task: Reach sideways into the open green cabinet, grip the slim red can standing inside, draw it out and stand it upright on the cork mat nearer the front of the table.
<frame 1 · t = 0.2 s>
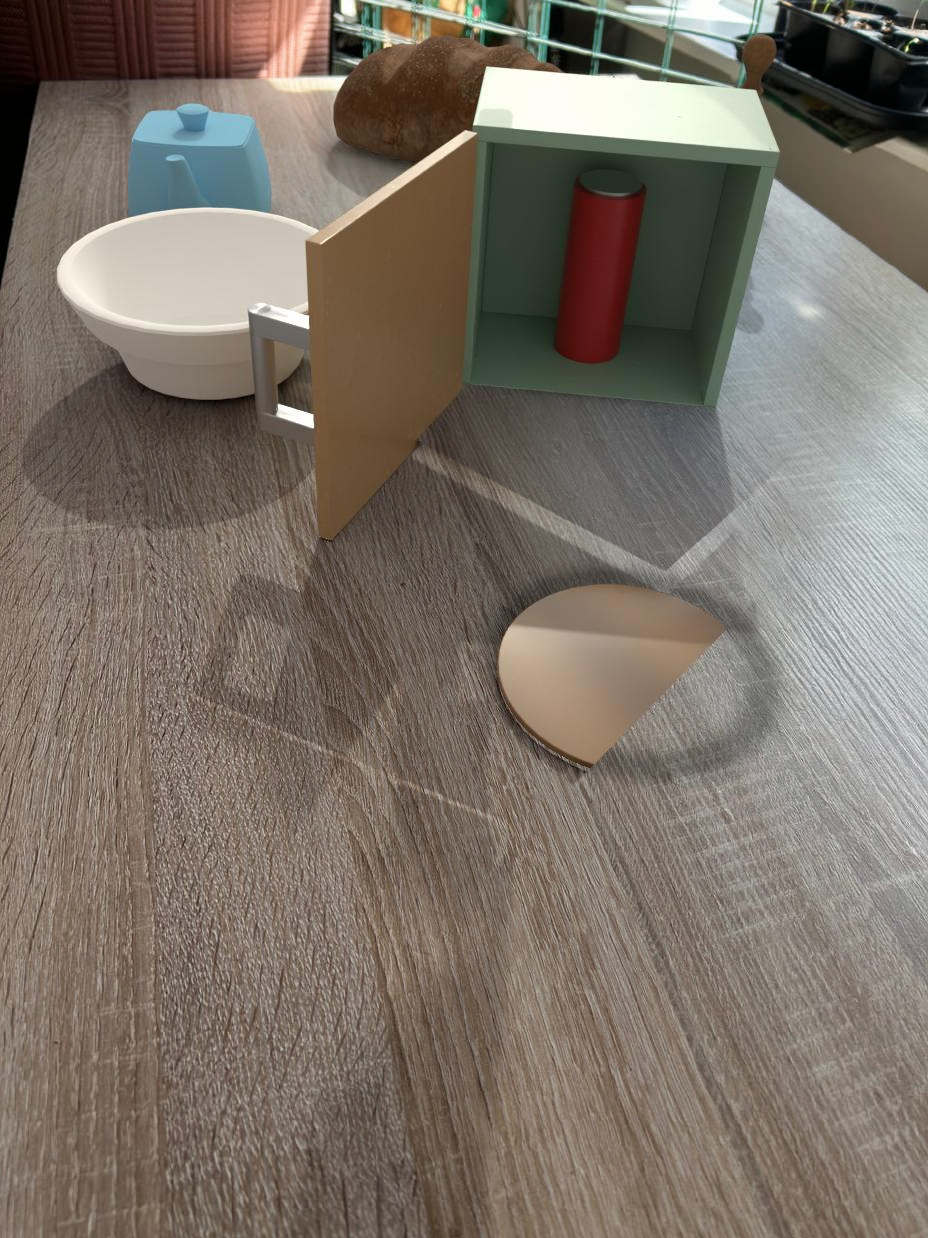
ice cream cone: (589, 239, 106), on the table
wooden cabinet door: (362, 324, 69), point 10 cm above the table, hinge at 110.0°
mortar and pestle: (719, 230, 110), on the table
can: (586, 347, 87), point 1 cm above the table, touching green cabinet
teapot: (204, 242, 100), on the table
bread: (462, 150, 122), on the table, touching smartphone
green cabinet: (584, 363, 87), on the table
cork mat: (626, 679, 61), on the table
bowl: (216, 364, 84), on the table
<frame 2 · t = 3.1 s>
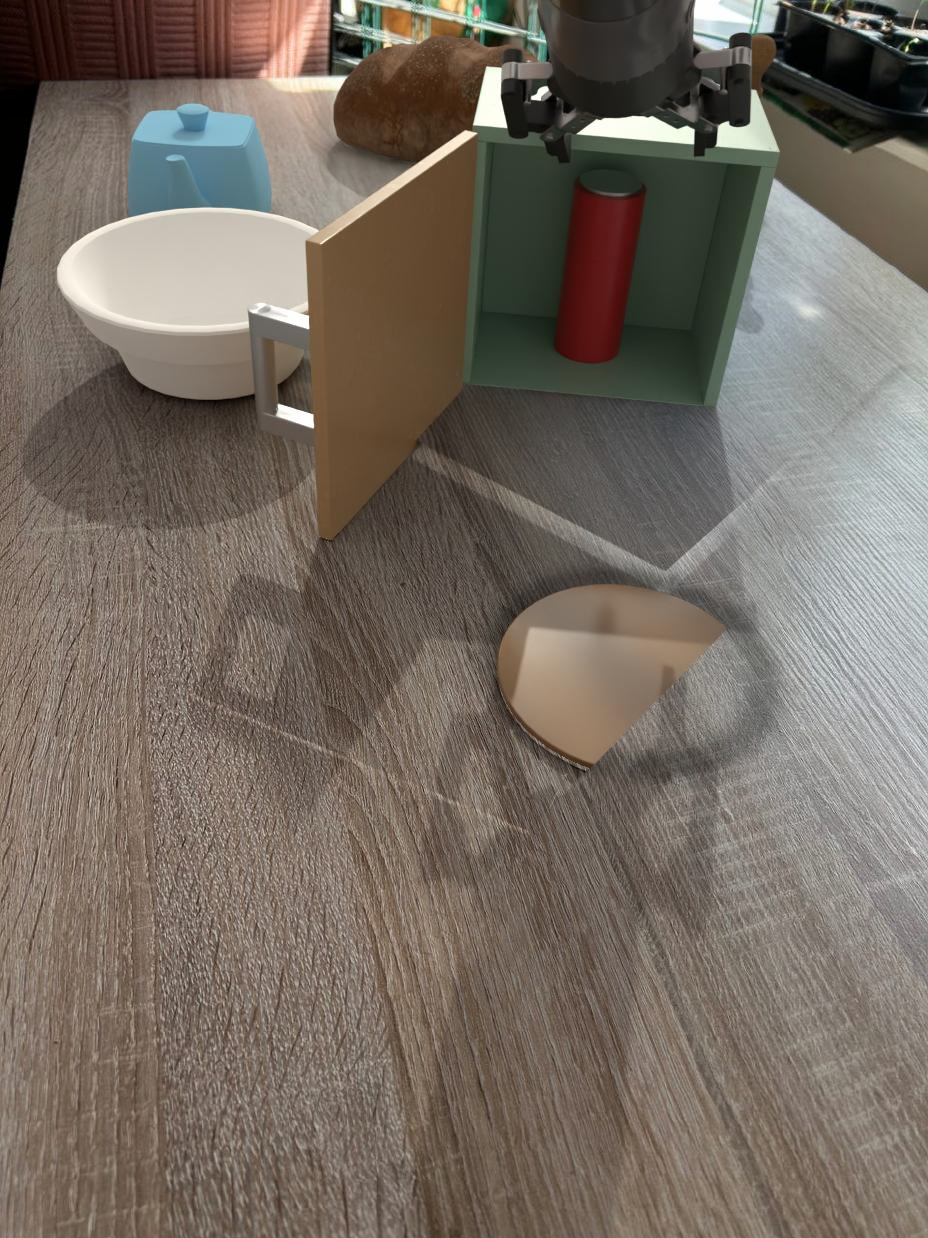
hand: (631, 145, 68), 20 cm above the table, tool tilted 50°, fingers open, 8 cm apart
nothing on the table moved.
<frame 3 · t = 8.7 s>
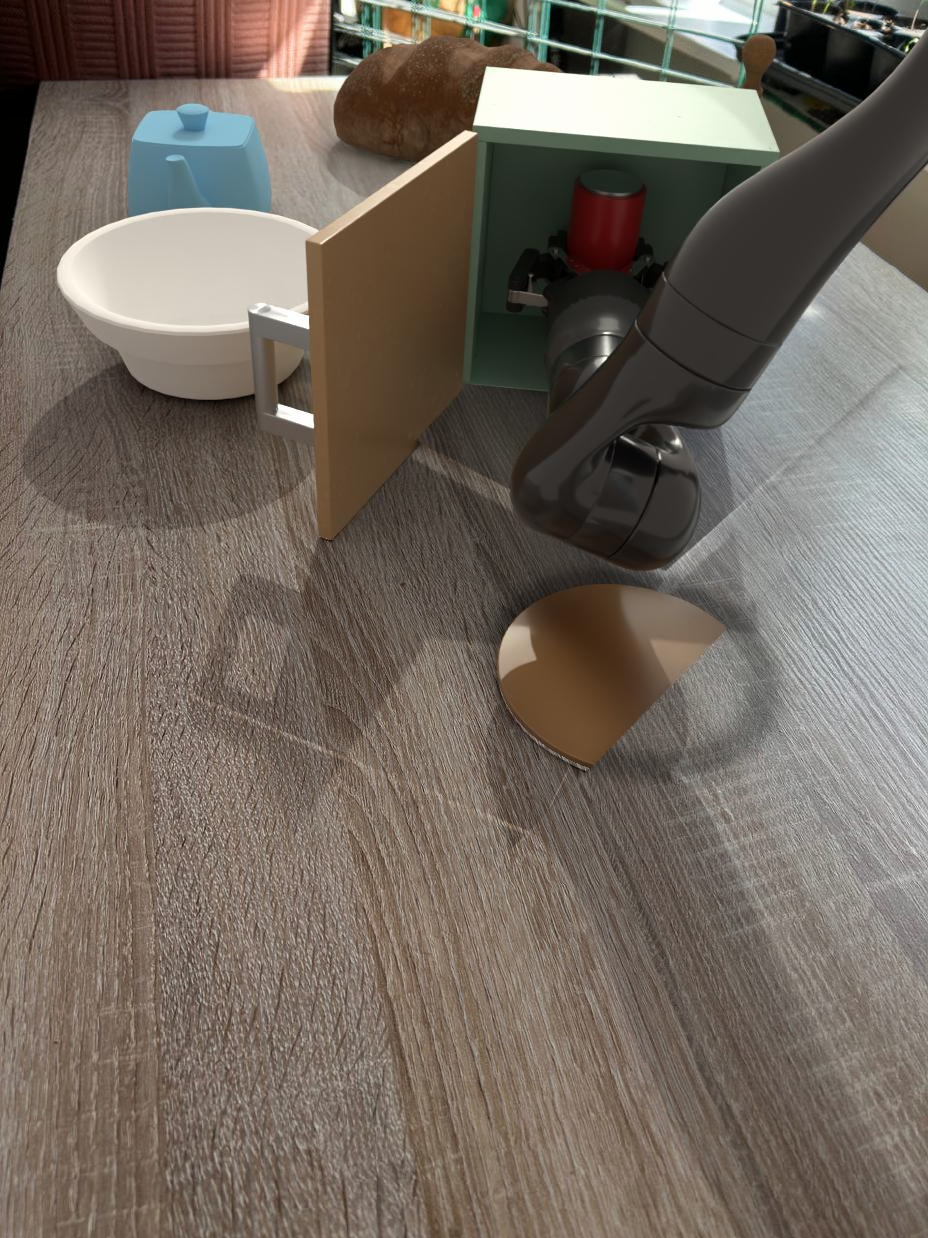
hand: (598, 245, 84), 9 cm above the table, tool horizontal, fingers closed on can, 5 cm apart
can: (586, 346, 87), point 1 cm above the table, touching green cabinet, gripper
everything else where it was.
when the fingers open (8 cm above the table, at t = 20.8 s): can stays where it is, resting on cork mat.
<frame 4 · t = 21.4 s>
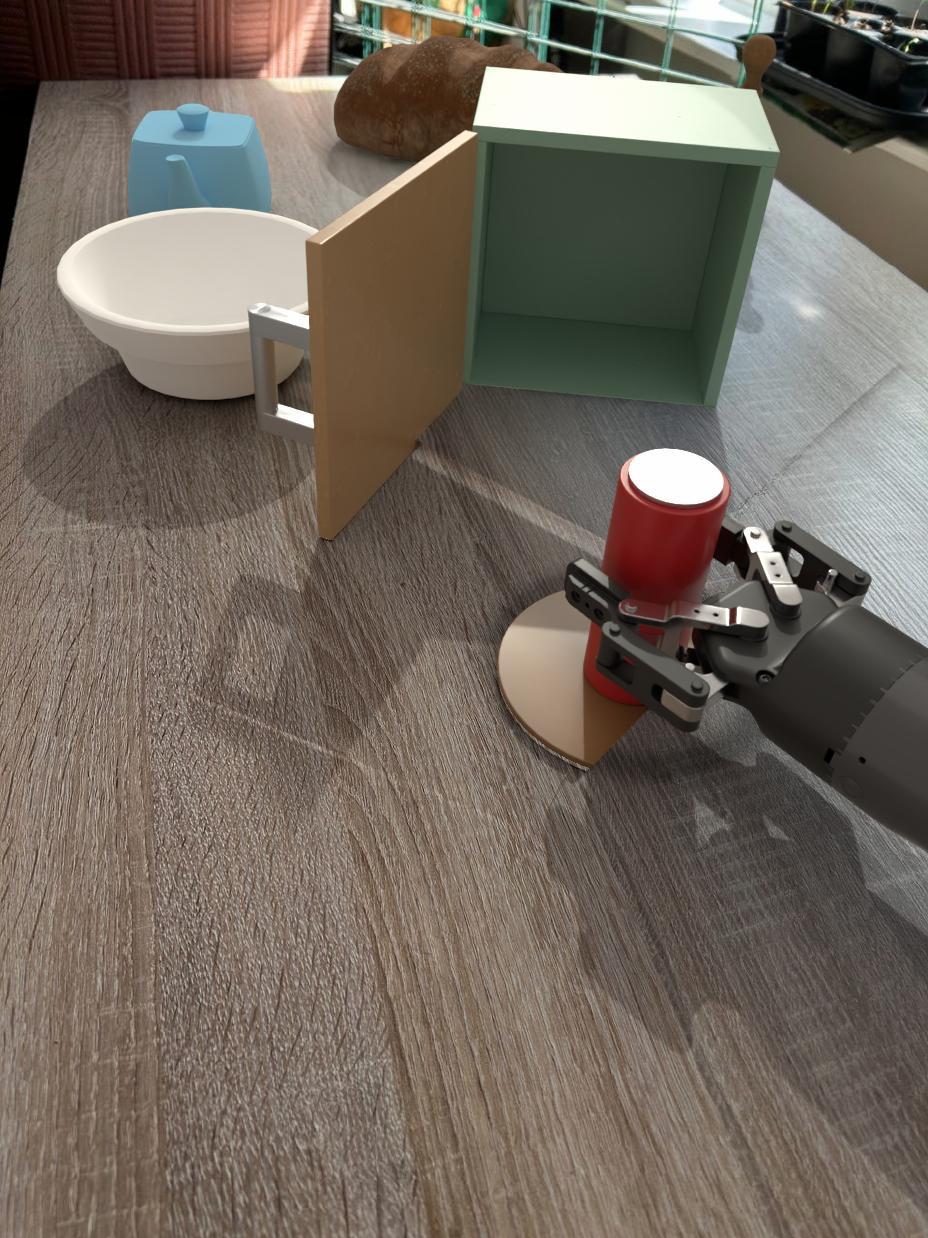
hand: (627, 542, 56), 9 cm above the table, tool horizontal, fingers open, 8 cm apart
can: (630, 671, 60), point 1 cm above the table, touching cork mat
everything else where it was.
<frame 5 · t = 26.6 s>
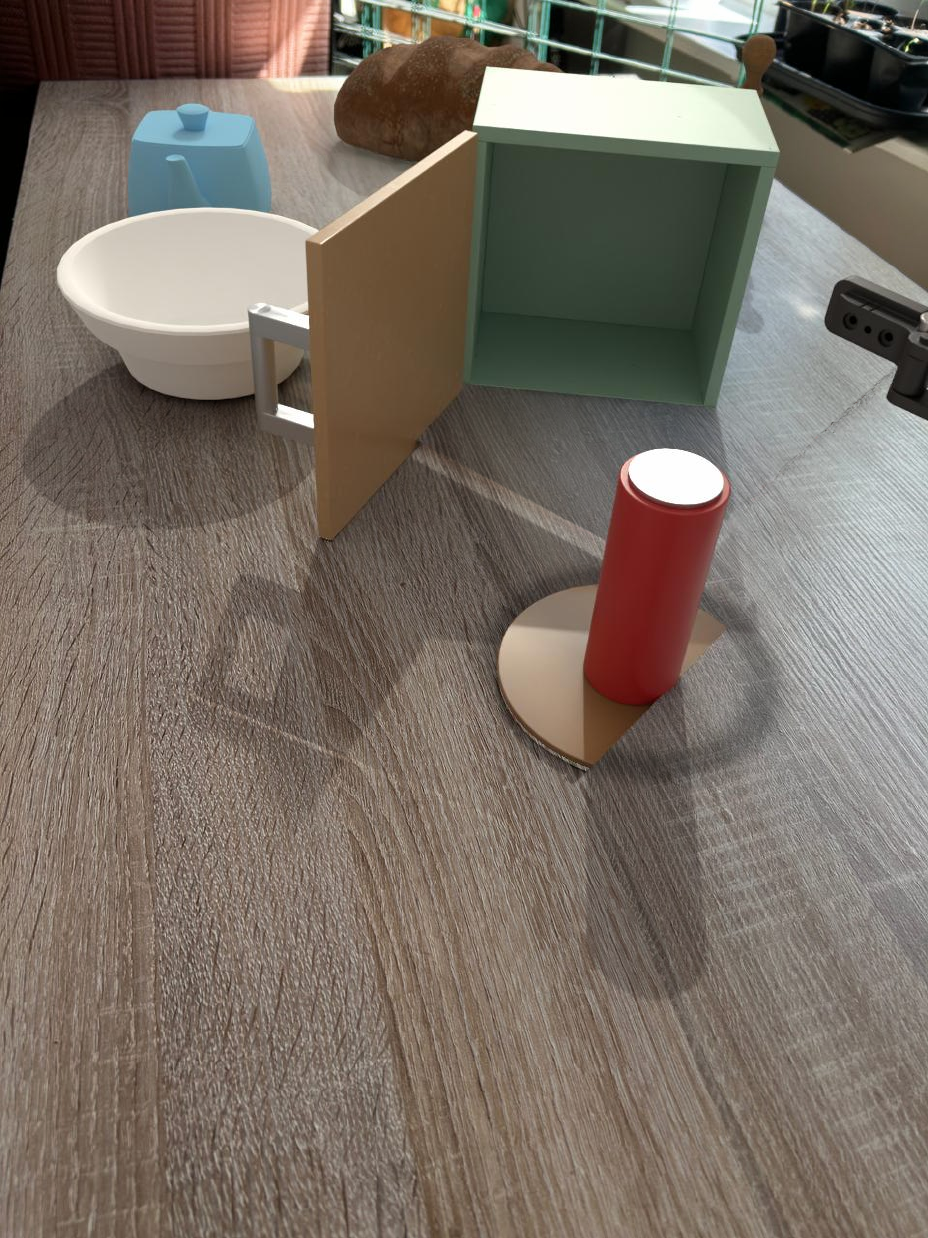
hand: (894, 273, 44), 25 cm above the table, tool horizontal, fingers open, 8 cm apart
nothing on the table moved.
at the end: can inside the target area on the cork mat (0.1 cm from its centre), point 0.8 cm above the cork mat's base; can tilted 0°; the gripper is holding nothing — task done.
